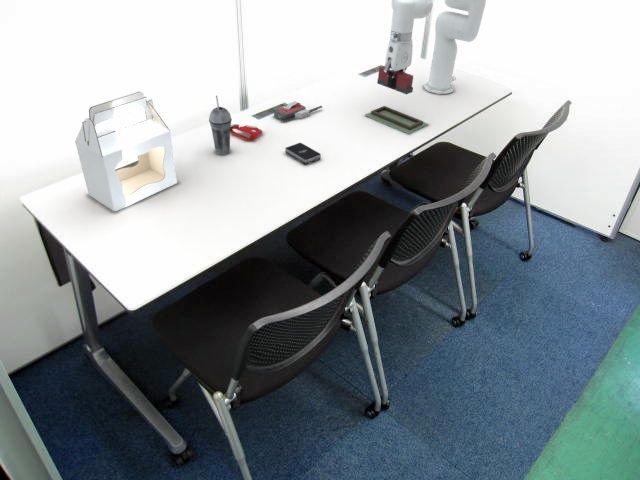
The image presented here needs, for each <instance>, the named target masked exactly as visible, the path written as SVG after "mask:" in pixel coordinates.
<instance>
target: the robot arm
mask: <svg viewBox="0 0 640 480" xmlns="http://www.w3.org/2000/svg"><path fill="white" fill-rule="evenodd" d="M486 3H487V0H444V4H445V6H446V7H448V8H451V9H453V10H460V11H464V12H467V13H468V14H463V13H460V12H455V11H448V10H447V11H442V12H440V13H439V14H438V15H437V17H436V19H435V23H434V24H435V25H434V29H435V30H434V32H435V34H434V35H435V36H434V46H433V50H432V51H433V52H432V58H431V64H430V71H429V75H428V76H429V77H428V81H427V82H425V83H424V85H423V88H424V90H426V91H427V92H429V93H431V94H432V93H433V94H437V95H449V94H451V93H453V92H454V90H455V89H454V86H453V85H452V83H453V82H455V81H457V77H456V76H455V75H453V74H454V70H455V63H456V58H457V53H458V44H457V41H462V42H465V43H466V42H467V43H471V42H473V41H475V40H476V38H477V36H478V35H479V32H480V26H481V23H482V19H483V15H484V11H485V8H486ZM433 5H434V4H433V0H391V9H392V17H391V25H390V34H389V35H390V36H389V41H388V45H387V48H386V49H387V50H386V56H385V64H384V66H385V69H384V72H385V73H387V76H388V84H387V86H388V87H390V88H389V89H391V88H392V89H391V90H393V89H394V88H395V83H396V78H395V75H396V71H398V70H399V71H402V72H404V73H406V70H408V68H409V67H410V66H411V65H412V60H413V47H414V45H413V44H414V43H413V31H414V23H415V20H416V19H417V20H419V19H424V18H426V17H428V16H429V15H430V14H431V12H432V10H433ZM456 40H457V41H456ZM391 70H392V71H393V73H392V72H391ZM388 87H387V88H388Z"/></svg>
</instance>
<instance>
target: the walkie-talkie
mask: <svg viewBox="0 0 640 480" xmlns="http://www.w3.org/2000/svg"><path fill="white" fill-rule="evenodd" d="M322 108H323V106H322V105H319V106H317V107H314V108H310V109H307V108H306V106H305V105H302V104H301V102H298V101H297V100H296V101H292V102H289V103H288V104H287V105H284V106H281V107H279V108H276V109H274V110H273V118H275V119H277V120H279V121H281V122H288V121H291V120H293V119H303V118H306V117H309V116H310V114H311V113H313V112H316V111H318V110H320V109H322Z"/></svg>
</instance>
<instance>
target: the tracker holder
mask: <svg viewBox="0 0 640 480" xmlns="http://www.w3.org/2000/svg"><path fill="white" fill-rule="evenodd" d="M235 130H237V131H240V132H243V133H246V134H248V135H249V136H248V137H247V136H245V135H242V134H240V133H238V132H236V131H235ZM230 134H232V136H233V135H234V136H235V137H237V138H240V139H243V140H245V141H255V140H256V139H257V138H258V137H259V136H260V135H262V134H263V130H262V129H260V128H259V127H257V126H254V125H250V124H249V125H247V124H246V125H244V126H242V125H241V126H240V124H239V123H233V124H231V126H230Z"/></svg>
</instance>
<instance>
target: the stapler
mask: <svg viewBox="0 0 640 480" xmlns="http://www.w3.org/2000/svg"><path fill="white" fill-rule="evenodd" d="M384 69H385V65H384V66H380V67H379V68H378V75H377V76H378V77H377V81H376V84H378V85H381V86H383V87H386V88H387V89H391V90H394V91H396V92H399V93H401V94H403V95H409V94H411V93H413V92H414V91H413V90H414V87H413V81H414V75H413V74H410V73H407V72H405V73H404V72H402V71H399V70H398V71H396V75H395V78H396V83H395V88H394V89H392V88H390V87H388V86H387V84H388V76H387V73H385V72H384ZM391 72H392V73H393V71H392V70H391Z"/></svg>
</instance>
